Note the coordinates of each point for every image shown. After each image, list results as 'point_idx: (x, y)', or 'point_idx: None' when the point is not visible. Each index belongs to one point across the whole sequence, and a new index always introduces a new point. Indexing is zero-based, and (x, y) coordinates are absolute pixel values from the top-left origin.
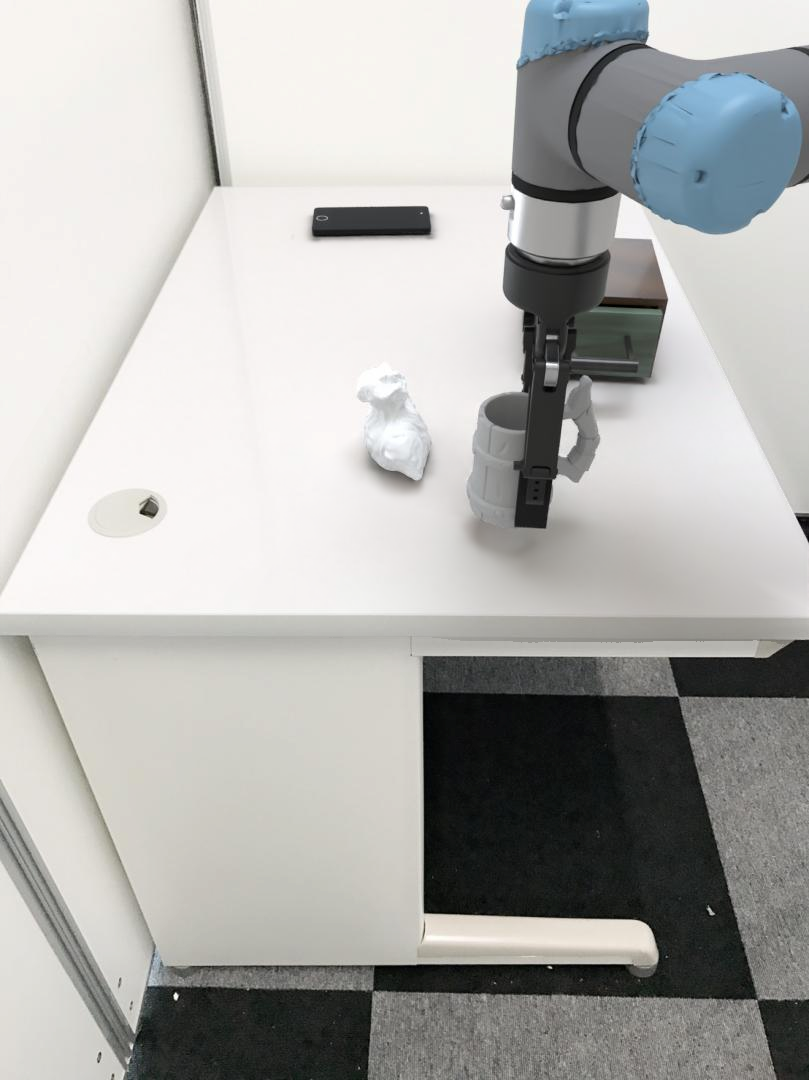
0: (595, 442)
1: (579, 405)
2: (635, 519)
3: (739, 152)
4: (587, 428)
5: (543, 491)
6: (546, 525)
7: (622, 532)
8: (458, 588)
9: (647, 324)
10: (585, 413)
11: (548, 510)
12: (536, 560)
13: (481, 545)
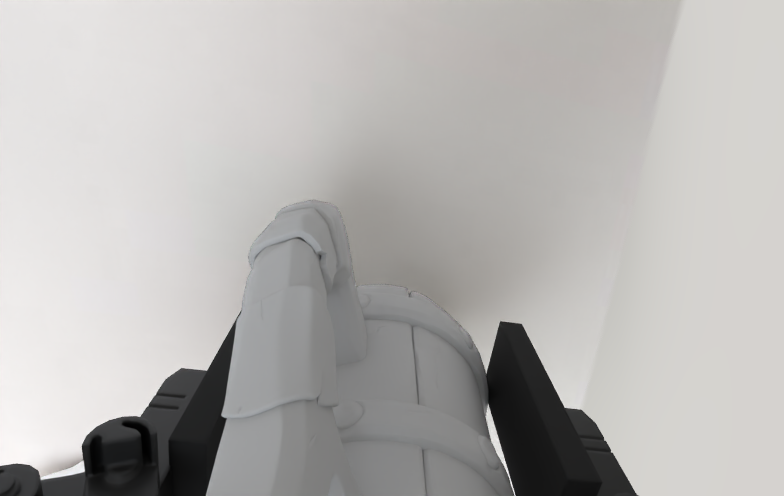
0: (323, 240)
1: (325, 468)
2: (341, 7)
3: None
4: (328, 320)
5: (609, 455)
6: (524, 329)
7: (391, 58)
8: None
9: None
10: (322, 392)
11: (538, 359)
12: (470, 273)
13: None
